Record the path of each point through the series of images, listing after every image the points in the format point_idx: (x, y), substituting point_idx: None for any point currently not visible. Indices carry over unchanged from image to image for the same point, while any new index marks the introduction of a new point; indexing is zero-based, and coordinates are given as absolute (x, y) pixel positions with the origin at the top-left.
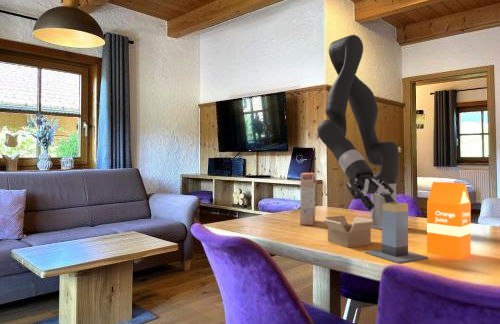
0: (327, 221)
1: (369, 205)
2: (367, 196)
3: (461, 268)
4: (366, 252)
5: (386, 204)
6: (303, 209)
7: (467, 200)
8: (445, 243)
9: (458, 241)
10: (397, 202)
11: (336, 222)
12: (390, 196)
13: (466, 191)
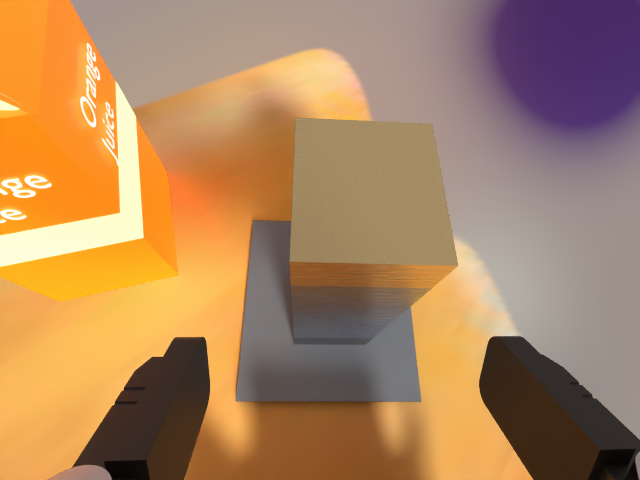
0: None
1: (546, 359)
2: (611, 442)
3: (270, 123)
4: (419, 389)
5: (443, 216)
6: None
7: None
8: (153, 186)
9: (144, 136)
10: (298, 211)
11: None
12: (130, 429)
13: None
